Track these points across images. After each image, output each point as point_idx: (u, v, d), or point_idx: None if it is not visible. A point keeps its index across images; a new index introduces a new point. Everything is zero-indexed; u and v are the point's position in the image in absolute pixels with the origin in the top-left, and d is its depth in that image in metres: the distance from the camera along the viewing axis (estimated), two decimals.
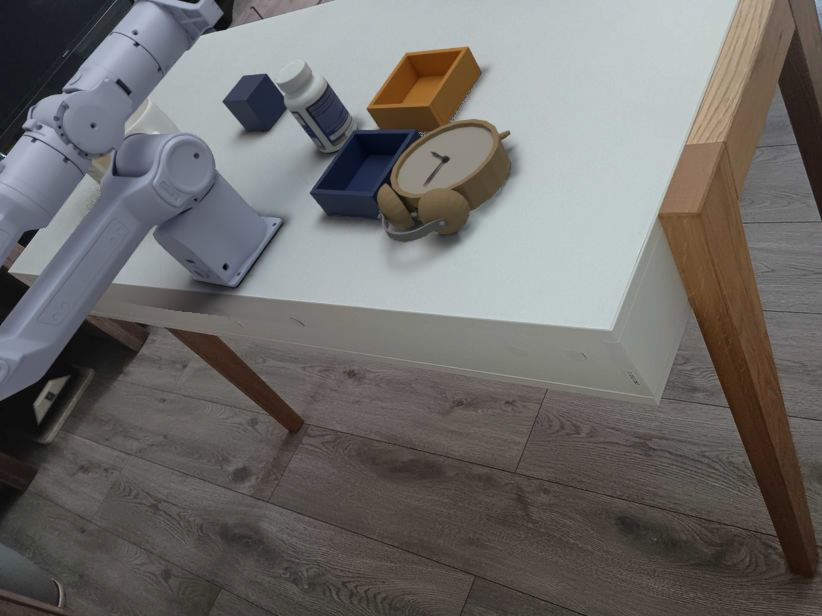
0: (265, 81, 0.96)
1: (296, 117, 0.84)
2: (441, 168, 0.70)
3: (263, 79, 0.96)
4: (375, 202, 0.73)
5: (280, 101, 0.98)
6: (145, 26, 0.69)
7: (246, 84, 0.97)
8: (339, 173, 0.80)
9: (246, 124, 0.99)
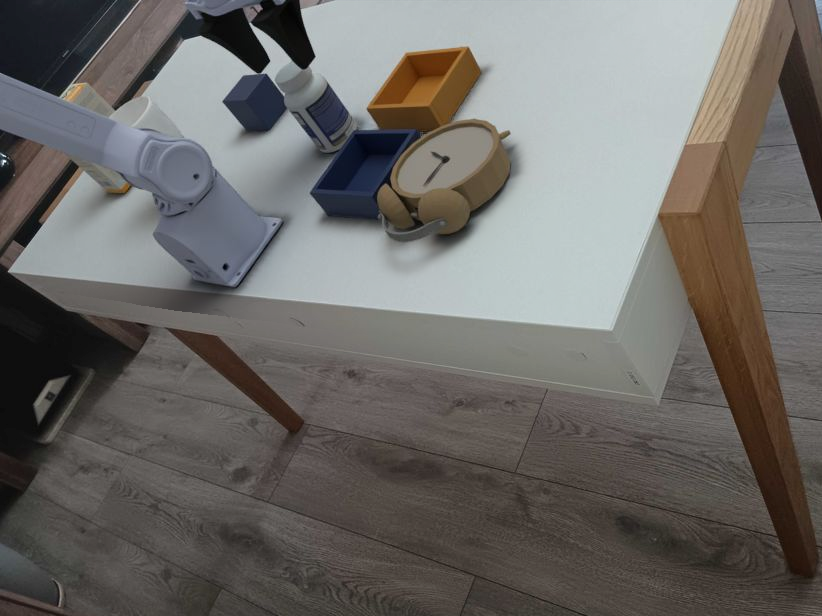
0: (265, 81, 0.96)
1: (296, 117, 0.84)
2: (441, 168, 0.70)
3: (263, 79, 0.96)
4: (375, 202, 0.73)
5: (280, 101, 0.98)
6: None
7: (246, 84, 0.97)
8: (339, 173, 0.80)
9: (246, 124, 0.99)
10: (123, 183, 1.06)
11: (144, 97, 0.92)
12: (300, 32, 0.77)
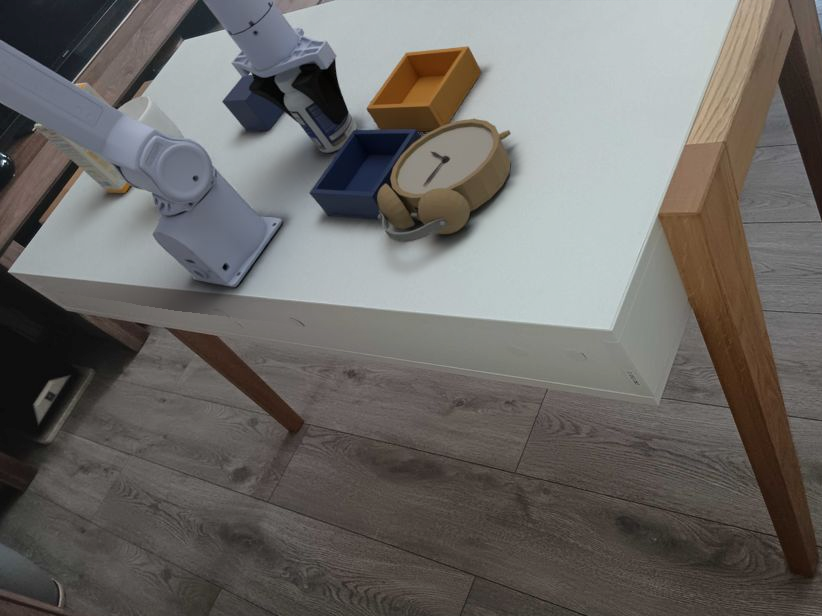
0: None
1: (296, 117, 0.84)
2: (441, 168, 0.70)
3: None
4: (375, 202, 0.73)
5: None
6: (283, 17, 0.77)
7: (246, 84, 0.97)
8: (339, 173, 0.80)
9: (246, 124, 0.99)
10: (123, 183, 1.06)
11: (144, 97, 0.92)
12: (335, 91, 0.83)
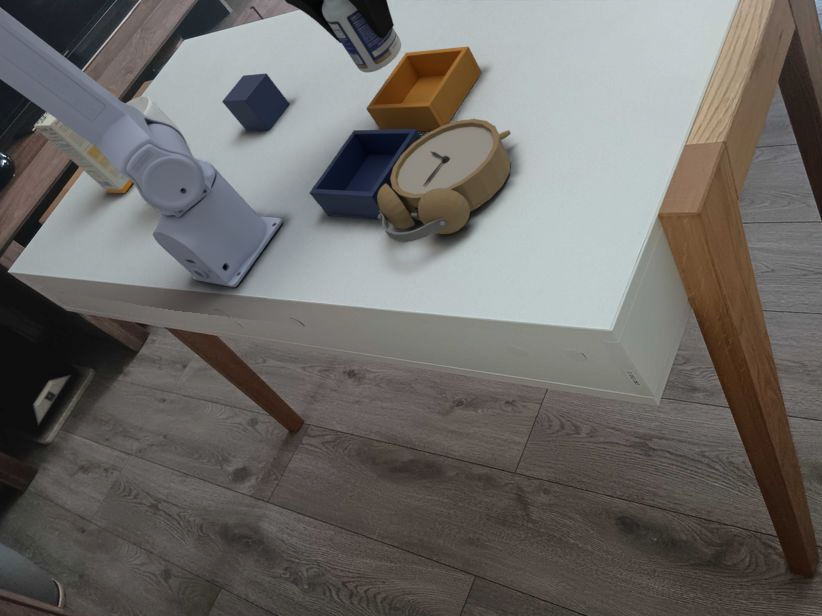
0: (265, 81, 0.96)
1: (336, 29, 0.75)
2: (441, 168, 0.70)
3: (263, 79, 0.96)
4: (375, 202, 0.73)
5: (280, 101, 0.98)
6: None
7: (246, 84, 0.97)
8: (339, 173, 0.80)
9: (246, 124, 0.99)
10: (123, 183, 1.06)
11: (144, 97, 0.92)
12: None
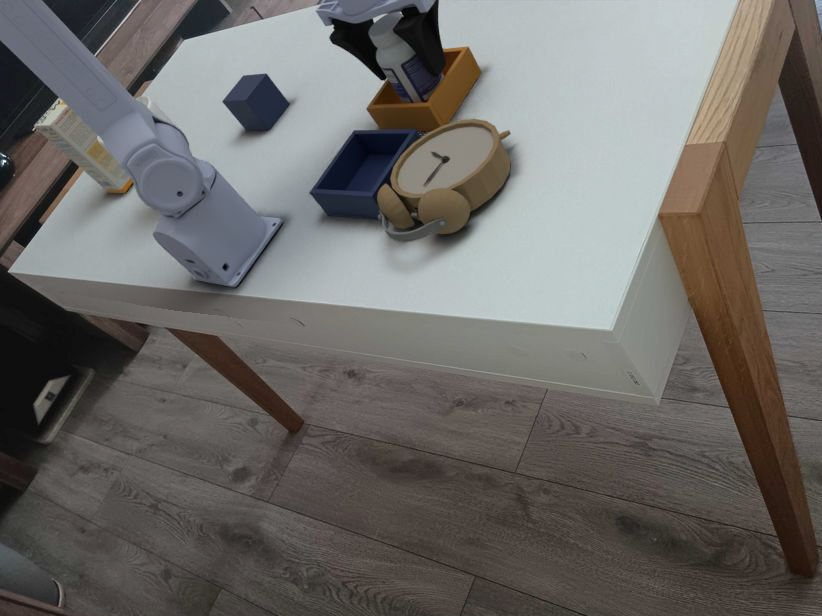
0: (265, 81, 0.96)
1: (389, 75, 0.79)
2: (441, 168, 0.70)
3: (263, 79, 0.96)
4: (375, 202, 0.73)
5: (280, 101, 0.98)
6: None
7: (246, 84, 0.97)
8: (339, 173, 0.80)
9: (246, 124, 0.99)
10: (123, 183, 1.06)
11: (144, 97, 0.92)
12: (435, 39, 0.77)
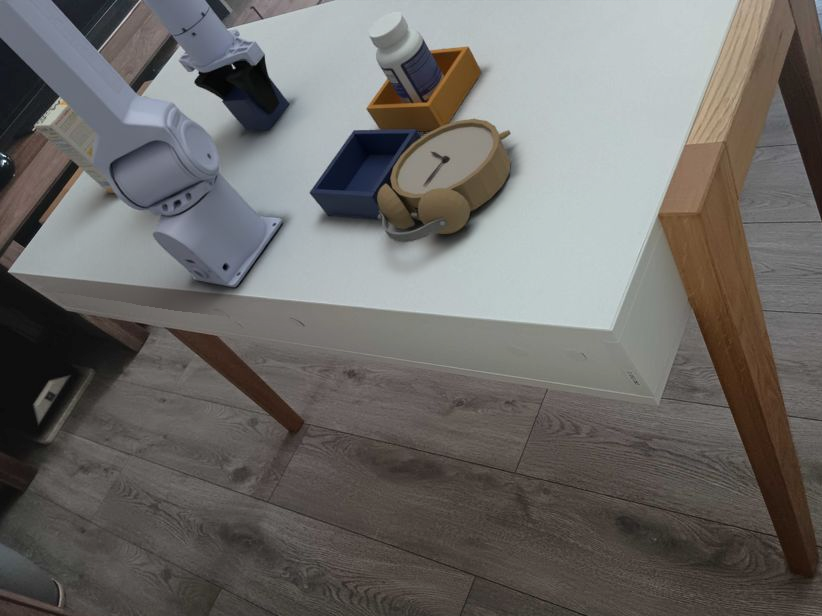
0: None
1: (389, 75, 0.79)
2: (441, 168, 0.70)
3: None
4: (375, 202, 0.73)
5: (280, 101, 0.98)
6: (219, 21, 0.90)
7: None
8: (339, 173, 0.80)
9: (246, 124, 1.00)
10: None
11: None
12: (266, 84, 0.96)
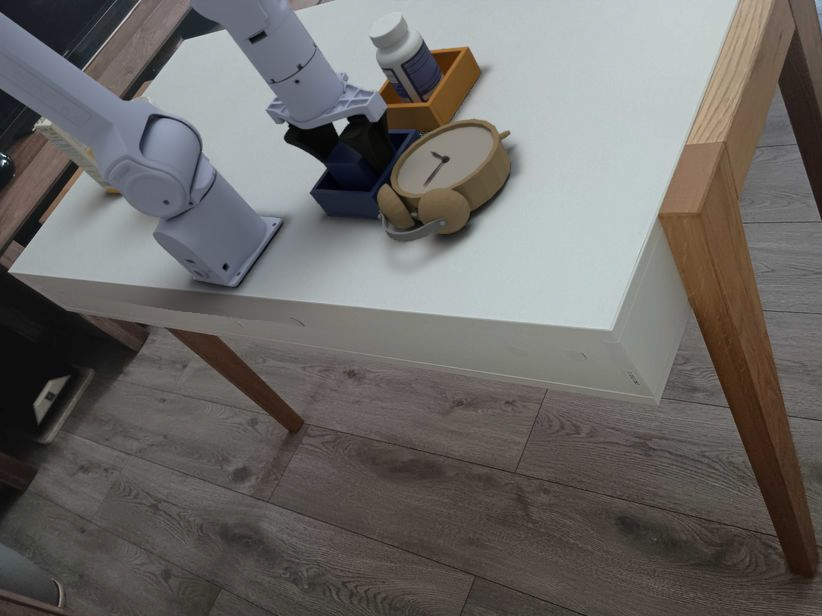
0: None
1: (389, 75, 0.79)
2: (441, 168, 0.70)
3: None
4: (375, 202, 0.73)
5: None
6: (328, 63, 0.69)
7: None
8: None
9: None
10: None
11: (144, 97, 0.92)
12: (385, 142, 0.74)
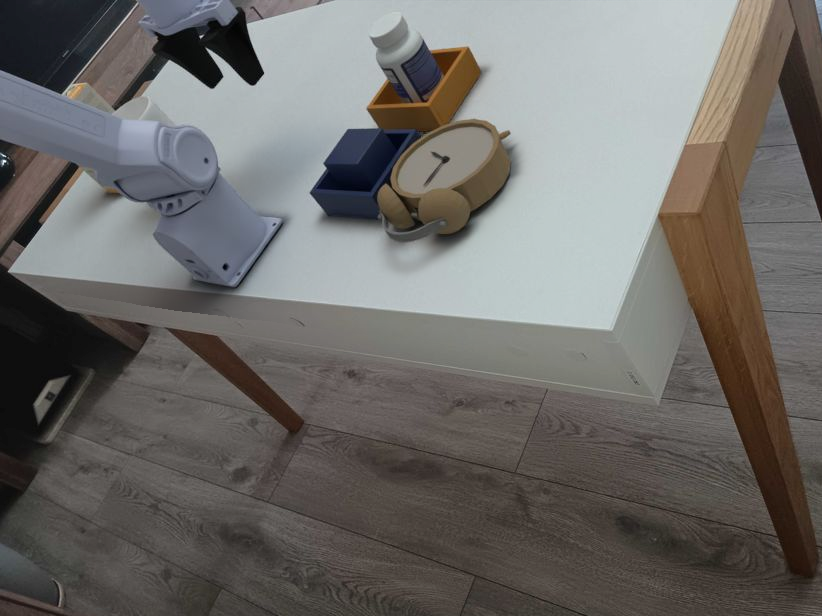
0: (380, 138, 0.75)
1: (389, 75, 0.79)
2: (441, 168, 0.70)
3: (378, 135, 0.75)
4: (375, 202, 0.73)
5: None
6: None
7: (355, 141, 0.76)
8: None
9: None
10: None
11: (144, 97, 0.92)
12: (248, 50, 0.80)
